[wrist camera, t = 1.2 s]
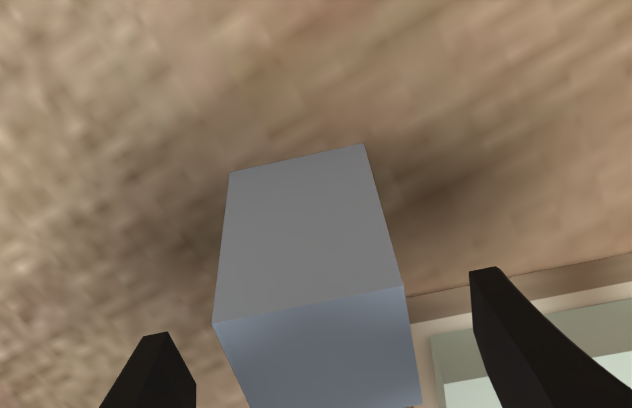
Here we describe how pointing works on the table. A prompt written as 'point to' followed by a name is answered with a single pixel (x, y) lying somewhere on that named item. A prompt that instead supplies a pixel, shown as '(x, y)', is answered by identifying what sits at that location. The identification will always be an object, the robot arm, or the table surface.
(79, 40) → the table surface
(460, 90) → the table surface
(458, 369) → the tower top
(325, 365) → the slate block
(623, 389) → the robot arm
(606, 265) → the tower base
